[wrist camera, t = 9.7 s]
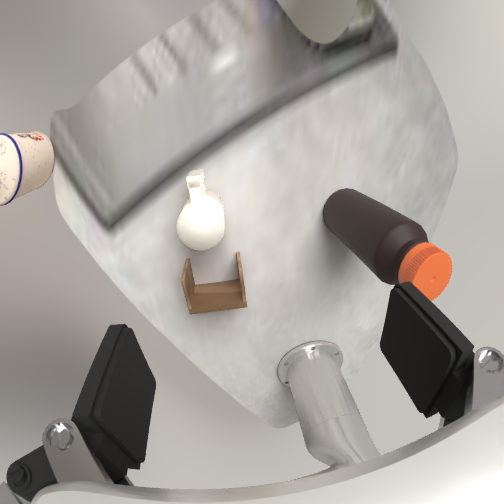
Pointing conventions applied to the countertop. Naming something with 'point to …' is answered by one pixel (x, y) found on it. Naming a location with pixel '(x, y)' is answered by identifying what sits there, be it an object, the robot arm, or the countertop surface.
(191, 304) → the caddy
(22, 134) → the teacup with lid
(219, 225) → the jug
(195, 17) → the countertop surface
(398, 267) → the bottle
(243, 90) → the countertop surface
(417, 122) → the countertop surface
